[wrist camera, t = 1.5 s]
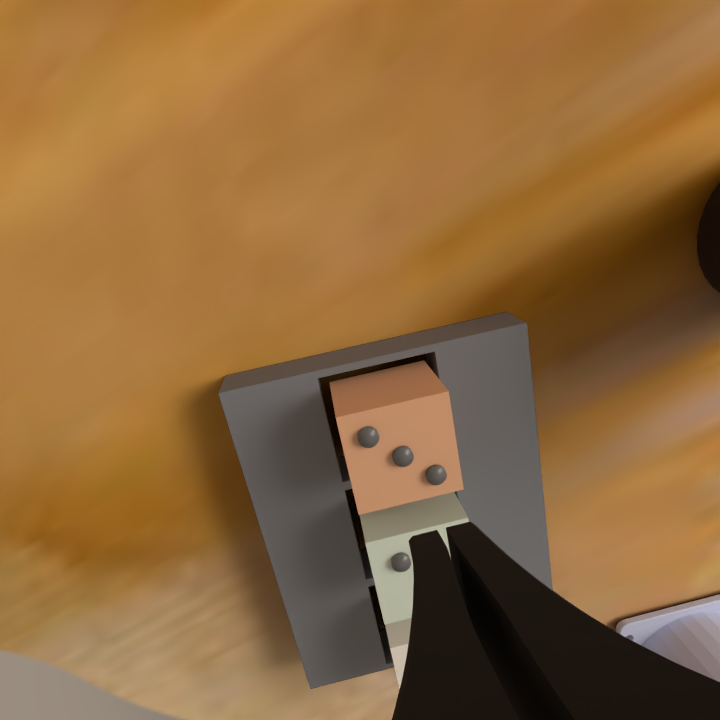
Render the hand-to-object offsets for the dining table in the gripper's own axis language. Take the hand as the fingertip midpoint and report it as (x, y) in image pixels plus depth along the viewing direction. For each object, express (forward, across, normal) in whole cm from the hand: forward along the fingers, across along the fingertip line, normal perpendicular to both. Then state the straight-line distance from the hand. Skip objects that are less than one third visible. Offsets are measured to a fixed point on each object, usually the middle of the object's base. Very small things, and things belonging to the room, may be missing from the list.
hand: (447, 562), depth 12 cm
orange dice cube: (+9, 0, 0) cm, 9 cm away
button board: (+10, 0, +5) cm, 12 cm away
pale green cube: (+9, 0, +5) cm, 10 cm away
